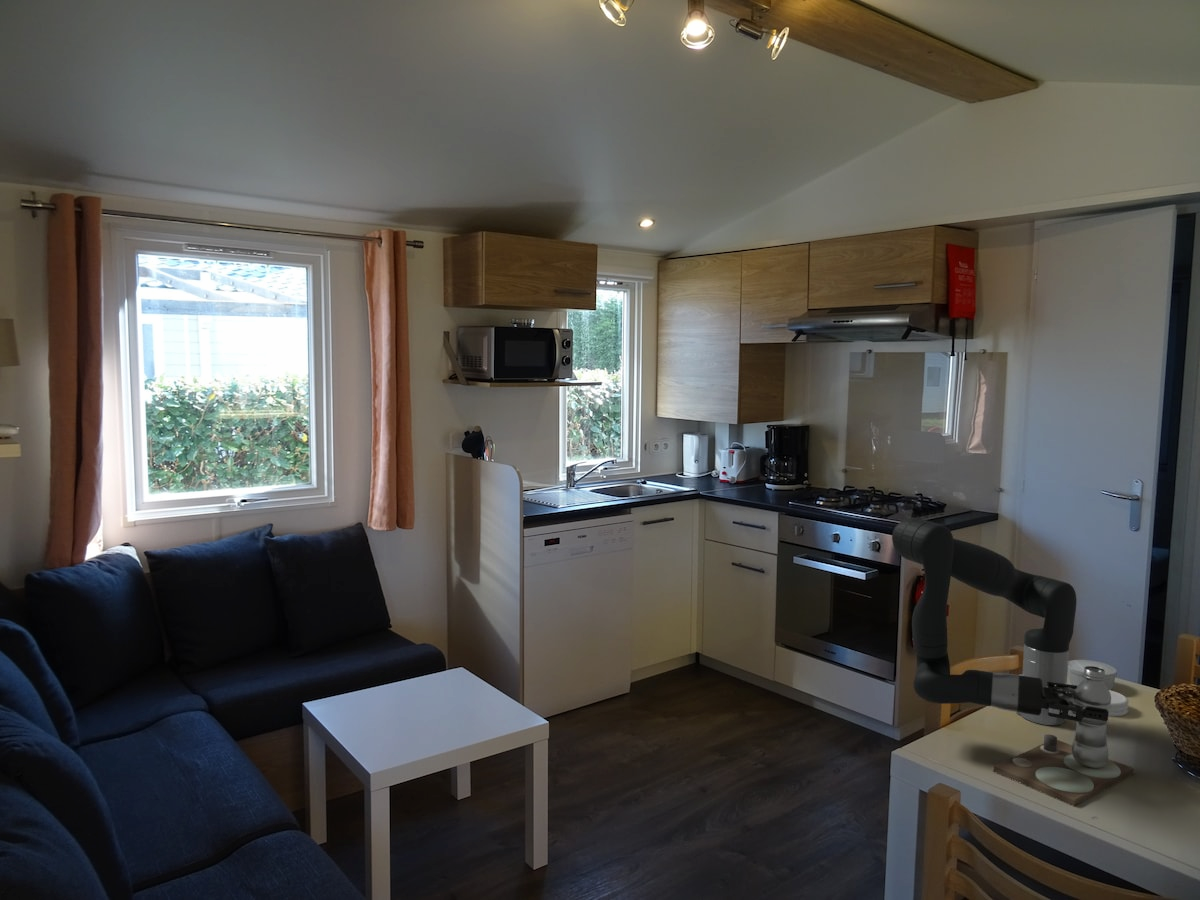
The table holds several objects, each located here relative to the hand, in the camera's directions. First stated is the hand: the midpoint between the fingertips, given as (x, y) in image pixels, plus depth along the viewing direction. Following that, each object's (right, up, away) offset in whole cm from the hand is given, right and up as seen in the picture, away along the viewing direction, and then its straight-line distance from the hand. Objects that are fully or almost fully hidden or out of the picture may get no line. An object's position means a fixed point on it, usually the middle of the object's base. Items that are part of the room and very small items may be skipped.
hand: (1106, 707), depth 167 cm
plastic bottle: (-2, -13, +2) cm, 13 cm away
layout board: (-7, -14, +2) cm, 16 cm away
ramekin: (+25, -10, +48) cm, 55 cm away
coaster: (+20, -11, +34) cm, 41 cm away
